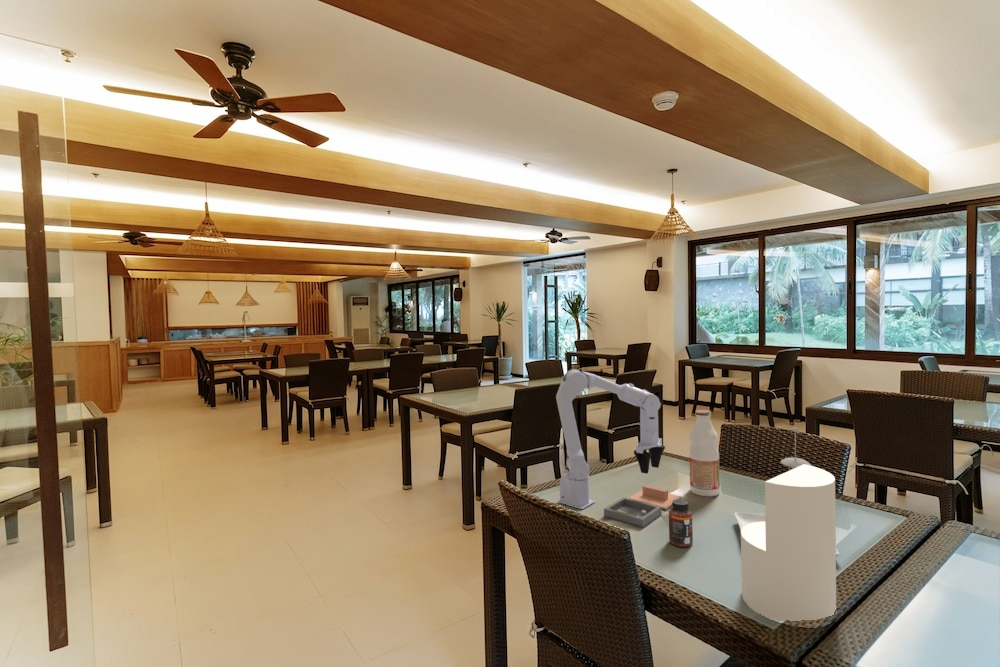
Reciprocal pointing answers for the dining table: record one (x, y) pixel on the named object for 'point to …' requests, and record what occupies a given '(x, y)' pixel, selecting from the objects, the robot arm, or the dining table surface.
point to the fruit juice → (704, 456)
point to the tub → (632, 512)
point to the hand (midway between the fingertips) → (649, 469)
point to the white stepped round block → (792, 548)
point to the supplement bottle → (680, 524)
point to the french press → (794, 461)
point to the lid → (655, 496)
